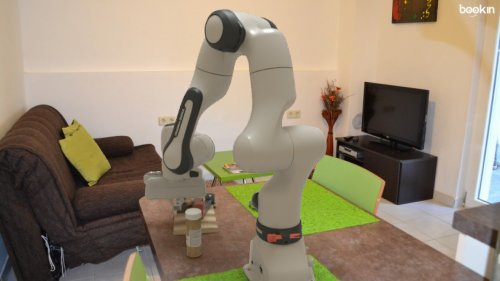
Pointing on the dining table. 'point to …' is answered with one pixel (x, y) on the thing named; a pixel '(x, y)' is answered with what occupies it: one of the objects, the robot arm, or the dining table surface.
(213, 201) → the lever
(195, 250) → the sprinkles bottle
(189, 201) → the brown ball
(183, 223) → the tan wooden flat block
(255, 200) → the ceramic mug
